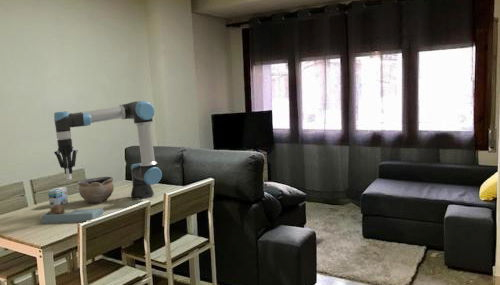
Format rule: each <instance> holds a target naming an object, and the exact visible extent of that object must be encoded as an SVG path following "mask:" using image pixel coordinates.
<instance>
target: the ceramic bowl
mask: <svg viewBox="0 0 500 285" xmlns="http://www.w3.org/2000/svg"><path fill="white" fill-rule="evenodd" d="M113 180H114V178H113V177H112V176H100V177H92V178H89V177H88V178H86V179H82V180H79V181H77V184H78V185H79V189H78V192H79V195H80V197H81V198H82V199H83V200H84V201H86V202H88V203H93V204H96V203H103V202H104V201H107V200H108V199H109V198H110V197H111V196H112V194H113V192H114V187H115V186H114V184H113Z"/></svg>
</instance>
